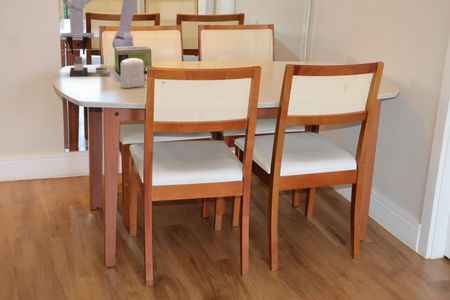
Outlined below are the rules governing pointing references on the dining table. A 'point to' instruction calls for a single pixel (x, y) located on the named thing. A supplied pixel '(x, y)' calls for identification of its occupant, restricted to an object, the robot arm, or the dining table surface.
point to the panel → (84, 73)
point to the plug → (78, 64)
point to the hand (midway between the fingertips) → (78, 54)
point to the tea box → (132, 52)
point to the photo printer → (132, 73)
